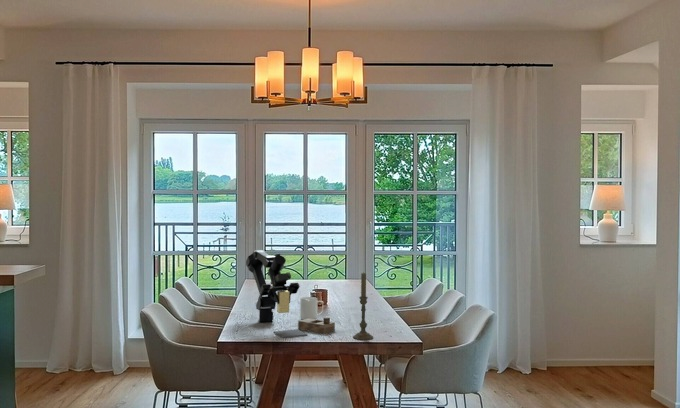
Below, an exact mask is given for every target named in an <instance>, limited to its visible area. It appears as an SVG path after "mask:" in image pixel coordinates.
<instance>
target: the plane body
mask: <svg viewBox="0 0 680 408" xmlns="http://www.w3.org/2000/svg"><path fill="white" fill-rule="evenodd" d="M297 323H298V324H297V329H298V330H300V331H306V332H307V331H308V332H313V333H317V334H318V333H319V334H324V335H325V334H329V333H332V332H334V331H336V328H335V326H336V325H335V324H336V322H334V321H331V318H330V317H326V316H325V317H323V320H322V319H310V318H308V319H304V320H302V319H300V320H298V321H297Z"/></svg>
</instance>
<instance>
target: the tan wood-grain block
mask: <svg viewBox="0 0 680 408" xmlns="http://www.w3.org/2000/svg"><path fill="white" fill-rule="evenodd" d="M276 293H277V296H278V299H279V302H280V303H279V304H278V303H276V313H277V314H286V313H287V314H288V313H290V303H289V291H276Z"/></svg>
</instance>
